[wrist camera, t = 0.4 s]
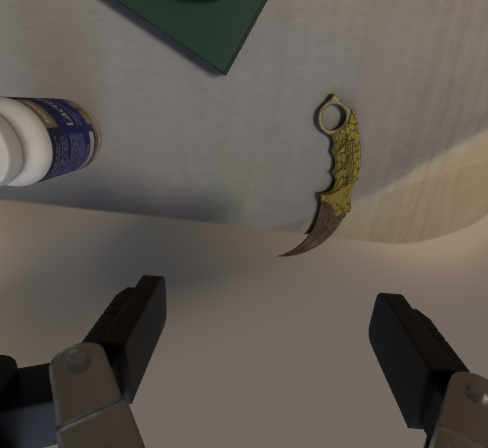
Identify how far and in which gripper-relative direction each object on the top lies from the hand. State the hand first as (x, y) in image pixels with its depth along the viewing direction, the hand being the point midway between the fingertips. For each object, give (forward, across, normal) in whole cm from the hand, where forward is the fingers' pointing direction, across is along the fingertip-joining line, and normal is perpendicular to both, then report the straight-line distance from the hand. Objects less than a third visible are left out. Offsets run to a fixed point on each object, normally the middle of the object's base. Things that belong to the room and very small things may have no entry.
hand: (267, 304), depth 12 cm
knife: (+16, -3, -1) cm, 17 cm away
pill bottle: (+17, +17, -3) cm, 24 cm away
